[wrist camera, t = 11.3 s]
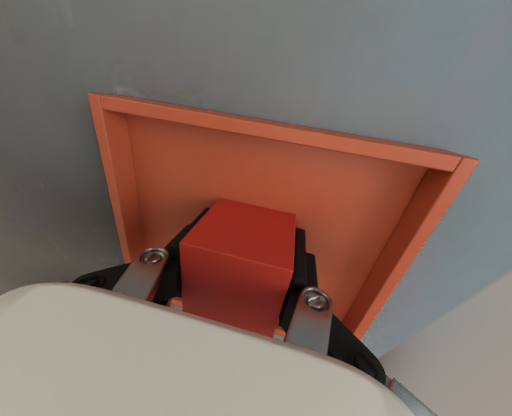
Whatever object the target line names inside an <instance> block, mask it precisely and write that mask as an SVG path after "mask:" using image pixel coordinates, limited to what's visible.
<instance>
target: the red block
mask: <svg viewBox="0 0 512 416" xmlns="http://www.w3.org/2000/svg"><path fill="white" fill-rule="evenodd" d="M295 228H296V214H292V213H287V212H283V211H278V210H273V209H269V208H264V207H260V206H255V205H251V204H246V203H242V202H237V201H232V200H228V199H223V198H219V200H218V201H217V202H216V203H215V204H214V205H213V206H212V207H211V208H210V210H209V211H208V212H207V213H206V214H205V215H204V216H203V217H202V218H201V219H200V221H199V222H198V223H197V224H196V225H195V226H194V227H193V228H192V229H191V230H190V232H189V233H188V234H187V235H186V236H185V237H184V238H183V239H182V240H181V241H180V243H179V245H180V266H181V287H182V307H183V311H184V312H187V313H190V314H194V315H197V316H201V317H204V318H207V319H211V320H214V321H218V322H221V323H224V324H228V325H231V326H234V327H238V328H241V329H244V330H248V331H251V332H254V333H258V334H261V335H264V336H268V337H271V338H273V335H274V332H275V329H276V326H277V323H278V319H279V316H280V313H281V310H282V307H283V303H284V300H285V297H286V294H287V291H288V287H289V284H290V281H291V278H292V275H293V271H294V249H295Z"/></svg>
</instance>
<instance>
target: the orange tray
mask: <svg viewBox="0 0 512 416" xmlns="http://www.w3.org/2000/svg"><path fill="white" fill-rule="evenodd" d="M88 99H89V103H90V108H91V112H92V117H93V121H94V126H95V131H96V135H97V140H98V144H99V149H100V153H101V158H102V163H103V167H104V172H105V176H106V181H107V186H108V190H109V195H110V199H111V204H112V208H113V213H114V218H115V222H116V227H117V231H118V236H119V240H120V245H121V250H122V254H123V259H124V263H125V264H127V263H131V262H132V261H133V260H134V258H135V257H136V256H137V254H138V253H139V252H141V251H142V250H144V249H146V248H150V247H163V248H164V247H165V246H166V245H167V244H168V243H169V242H170V241H171V240H172V239H173V238H174V237H175V236H176V235H177V234H178V233H179V232H180V231H181V230H182V229H183V228H184V227H185V226H186V225H188V224H191V223H192V222H193V221H194V220H195V219H196V217H197V216H198V215H199V214H200V213H201V212H202V211H203V210H204V209H205V208H206V207H208V208H211V207H212V206H213V205H214V204H215V203H216V202H217V201H218V200H219V198H223V199H228V200H232V201H237V202H242V203H246V204H251V205H255V206H260V207H264V208H269V209H273V210H278V211H283V212H287V213H292V214H296V228H300V229H304V230H305V234H306V252H307V253H311V254H314V255H315V259H316V270H317V280H318V288H319V289H321V290H323V291H324V292H326V293H327V294H328V295H329V297H330V298H331V300H332V302H333V314H334V315H335V316H336V317H337V318H338V319H339V320H340V321H341V322H342V323H343V324H344V325H345V326H346V327H347V328H348V329H349V330H350V331H351V332H352V333H353V334H354V335H355V336H356V337H357V338H358V339H359V340H361V338H362V337H363V335H364V334H365V332H366V331H367V329H368V328H369V326H370V325H371V323H372V322H373V320H374V319H375V317H376V316H377V314H378V313H379V311H380V310H381V308H382V307H383V305H384V304H385V302H386V301H387V299H388V298H389V296H390V295H391V293H392V292H393V290H394V289H395V287H396V286H397V284H398V283H399V281H400V280H401V278H402V277H403V275H404V274H405V272H406V271H407V269H408V268H409V266H410V265H411V263H412V262H413V260H414V259H415V257H416V256H417V254H418V253H419V251H420V250H421V248H422V247H423V245H424V244H425V242H426V241H427V239H428V238H429V236H430V235H431V233H432V232H433V230H434V229H435V227H436V226H437V224H438V223H439V221H440V220H441V218H442V217H443V215H444V214H445V212H446V211H447V209H448V208H449V206H450V205H451V203H452V202H453V200H454V199H455V197H456V196H457V194H458V193H459V191H460V190H461V188H462V187H463V185H464V184H465V182H466V181H467V179H468V178H469V176H470V175H471V173H472V172H473V170H474V169H475V167H476V166H477V164H478V163H479V160H478V159H475V158H471V157H468V156H464V155H461V154H457V153H454V152H450V151H447V150H442V149H436V148H430V147H424V146H418V145H412V144H406V143H400V142H394V141H388V140H382V139H376V138H371V137H365V136H359V135H353V134H347V133H341V132H335V131H329V130H323V129H317V128H311V127H305V126H300V125H294V124H288V123H282V122H276V121H270V120H264V119H258V118H252V117H246V116H240V115H234V114H229V113H223V112H217V111H211V110H205V109H199V108H193V107H187V106H181V105H175V104H169V103H164V102H158V101H152V100H146V99H140V98H134V97H128V96H122V95H110V94H97V93H88ZM296 228H295V229H296ZM171 304H173V305H176V306H180V307H182V298H179V297H174V298H172V301H171ZM274 334H277V335H281V336H284V337H285V335H286V333H285V332H284V331H283V329H282V328H281V327H280V326H279V319H278V323H277V326H276V329H275V332H274Z"/></svg>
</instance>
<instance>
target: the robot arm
mask: <svg viewBox="0 0 512 416" xmlns="http://www.w3.org/2000/svg"><path fill="white" fill-rule="evenodd" d="M209 210H210V208H208V207H206V208H205V209H204V210H203V211H202V212H201V213H200V214H199V215H198V216H197V217H196V219H195V220H194V221H193V222H192V223H191V224H188V225H186V226H185V227H184V228H183V229H182V230H181V231H180V232H179V233H178V234H177V235H176V236H175V237H174V238H173V239H172V240H171V241H170V242H169V243H168V244H167V245H166V246H165V247H164V248H163V247H150V248H146V249H144V250H142V251H141V252H139V253H138V254H137V256H136V257H135V258H134V260H133V261H132V262H131V263H127V264H123V265H119V266H115V267H111V268H107V269H104V270H100V271H96V272H92V273H88V274H85V275H83V276H81V277H79V278H77V279H75V280H74V281H73V282H72V283H69V281H66V282H54V283H39V284H33V285H27V286H23V287H20V288H16V289H14V290H11V291H9V292H7V293H4V294H2V295H0V416H437V415H436V414H435V413H434V412H432V411H431V410H430V409H429V408H428V407H427V406H425V405H424V404H423V403H422V402H421V401H420V400H419V399H418V398H416V397H415V396H414V395H413V394H412V393H411V392H409V391H408V390H407V389H406V388H405V387H404V386H403V385H401V384H400V383H399V382H398V381H397V380H396V379H395V378H393V379H392V380H391V379H390V378H389V377H388V376H387V375H385V372H384V369H383V367H382V365H381V363H380V362H379V360H378V359H377V358H376V357H375V356H374V354H373V353H372V352H371V351H370V350H369V349H368V348H367V347H366V346H365V345H364V344H363V343H362V342H361V341H360V340H359V339H358V338H357V337H356V336H355V335H354V334H353V333H352V332H351V331H350V330H349V329H348V328H347V327H346V326H345V325H344V324H343V323H342V322H341V321H340V320H339V319H338V318H337V317H336V316H335V315H334V314H333V302H332V300H331V298H330V297H329V295H328V294H327V293H326V292H324V291H323V290H321V289H319V288H318V280H317V270H316V259H315V255H314V254H311V253H307V252H306V234H305V230H304V229H300V228H296V229H295V249H294V271H293V275H292V278H291V281H290V284H289V287H288V291H287V294H286V297H285V300H284V303H283V307H282V310H281V313H280V316H279V326H280V327H281V328H282V329H283V331H284V332H285V333H286V335H285V338H284V341H281V340H278V339H274V338H271V337H268V336H264V335H261V334H258V333H254V332H251V331H248V330H244V329H241V328H238V327H234V326H231V325H228V324H224V323H221V322H218V321H214V320H211V319H207V318H204V317H201V316H197V315H194V314H190V313H187V312H184V311H180V310H177V309H173V308H170V304H171V301H172V298H174V297H179V298H182V287H181V266H180V245H179V243H180V241H181V240H182V239H183V238H184V237H185V236H186V235H187V234H188V233H189V232H190V230H191V229H192V228H193V227H194V226H195V225H196V224H197V223H198V222H199V221H200V219H201V218H202V217H203V216H204V215H205V214H206V213H207V212H208V211H209Z"/></svg>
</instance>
